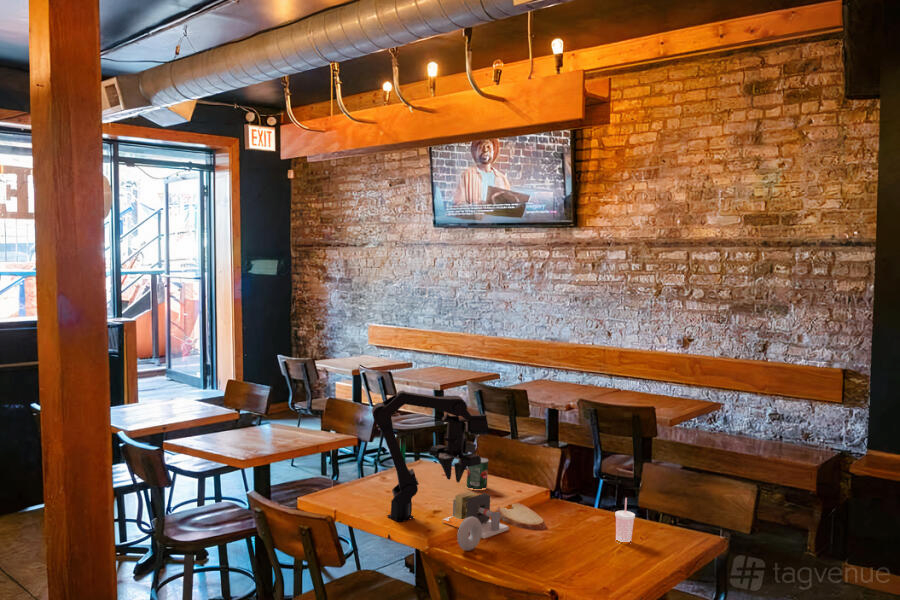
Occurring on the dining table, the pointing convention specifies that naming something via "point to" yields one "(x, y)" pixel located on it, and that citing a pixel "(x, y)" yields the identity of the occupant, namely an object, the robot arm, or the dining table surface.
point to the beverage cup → (624, 524)
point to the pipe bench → (487, 522)
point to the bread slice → (521, 517)
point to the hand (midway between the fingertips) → (453, 480)
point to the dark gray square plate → (479, 501)
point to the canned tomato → (478, 475)
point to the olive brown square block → (462, 504)
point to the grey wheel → (464, 530)
